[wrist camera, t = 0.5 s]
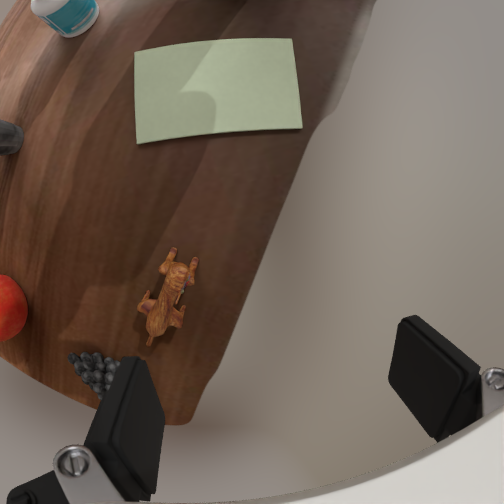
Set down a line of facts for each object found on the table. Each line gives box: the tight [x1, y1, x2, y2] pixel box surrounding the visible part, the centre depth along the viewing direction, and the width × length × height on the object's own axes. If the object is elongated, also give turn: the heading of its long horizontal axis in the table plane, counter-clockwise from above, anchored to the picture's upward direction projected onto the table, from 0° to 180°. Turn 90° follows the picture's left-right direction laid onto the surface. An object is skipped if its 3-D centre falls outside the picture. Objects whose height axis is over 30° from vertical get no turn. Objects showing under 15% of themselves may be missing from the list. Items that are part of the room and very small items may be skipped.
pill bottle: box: [31, 0, 99, 38], centre depth 21 cm, size 8×7×14 cm
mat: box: [134, 38, 302, 144], centre depth 34 cm, size 14×22×1 cm, turn 95°
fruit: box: [68, 352, 120, 400], centre depth 39 cm, size 9×8×15 cm
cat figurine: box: [137, 248, 199, 347], centre depth 34 cm, size 18×7×14 cm, turn 154°
